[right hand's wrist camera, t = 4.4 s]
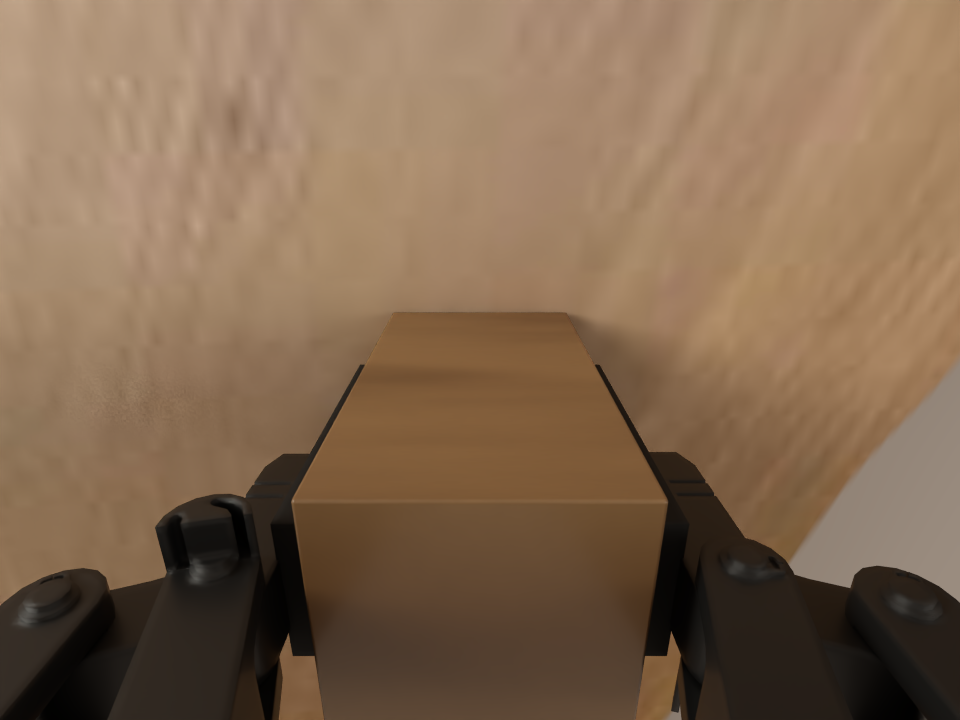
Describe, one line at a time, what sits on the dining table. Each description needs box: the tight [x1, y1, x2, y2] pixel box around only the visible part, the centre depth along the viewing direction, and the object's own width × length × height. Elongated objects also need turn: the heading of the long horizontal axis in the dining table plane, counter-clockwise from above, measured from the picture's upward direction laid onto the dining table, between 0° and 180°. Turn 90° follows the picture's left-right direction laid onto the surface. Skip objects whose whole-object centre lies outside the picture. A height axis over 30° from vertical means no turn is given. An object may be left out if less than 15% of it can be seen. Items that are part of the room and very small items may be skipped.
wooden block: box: [291, 313, 668, 720], centre depth 12 cm, size 5×5×9 cm
